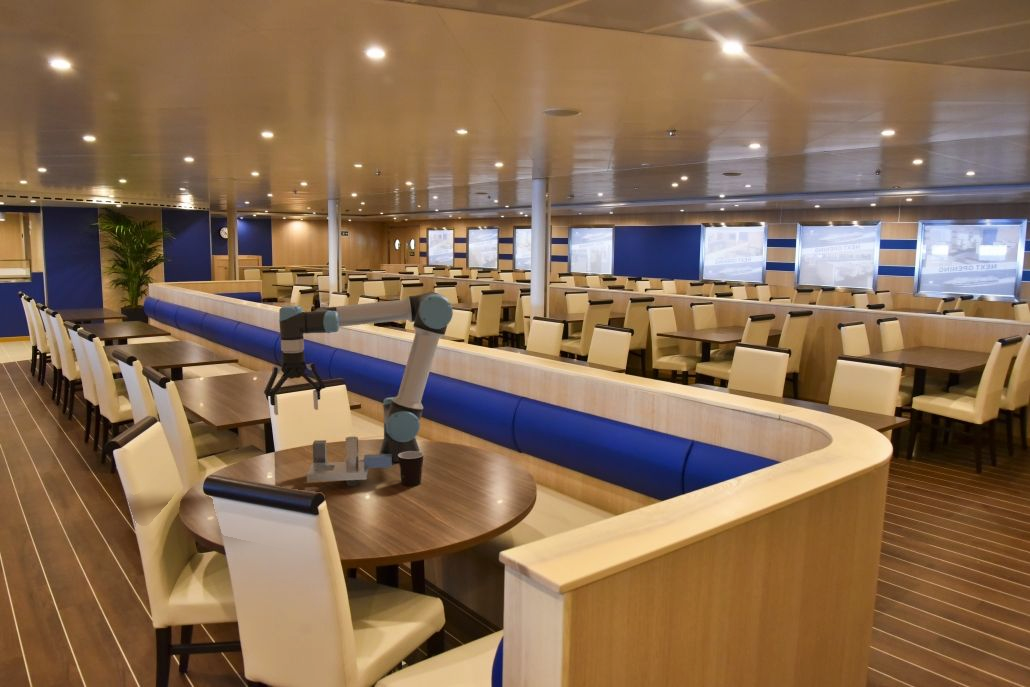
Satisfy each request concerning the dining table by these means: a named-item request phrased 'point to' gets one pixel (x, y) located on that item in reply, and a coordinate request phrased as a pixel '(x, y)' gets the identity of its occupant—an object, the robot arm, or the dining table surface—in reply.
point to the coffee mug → (410, 467)
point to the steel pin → (319, 451)
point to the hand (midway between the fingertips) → (296, 411)
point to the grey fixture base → (348, 466)
